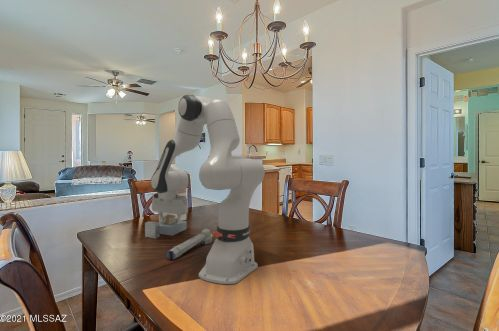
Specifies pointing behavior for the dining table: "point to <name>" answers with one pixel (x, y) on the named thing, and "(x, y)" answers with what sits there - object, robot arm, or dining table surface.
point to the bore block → (172, 228)
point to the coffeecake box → (183, 217)
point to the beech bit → (170, 219)
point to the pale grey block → (152, 229)
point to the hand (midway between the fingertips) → (170, 221)
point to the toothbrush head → (190, 244)
